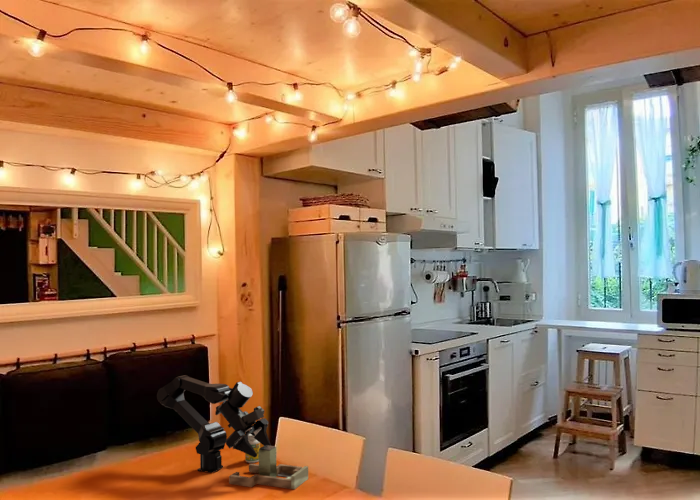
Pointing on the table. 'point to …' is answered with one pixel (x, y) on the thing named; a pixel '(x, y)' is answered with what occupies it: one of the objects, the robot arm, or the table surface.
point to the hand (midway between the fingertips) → (263, 452)
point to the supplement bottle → (256, 447)
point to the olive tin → (267, 461)
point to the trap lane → (292, 473)
